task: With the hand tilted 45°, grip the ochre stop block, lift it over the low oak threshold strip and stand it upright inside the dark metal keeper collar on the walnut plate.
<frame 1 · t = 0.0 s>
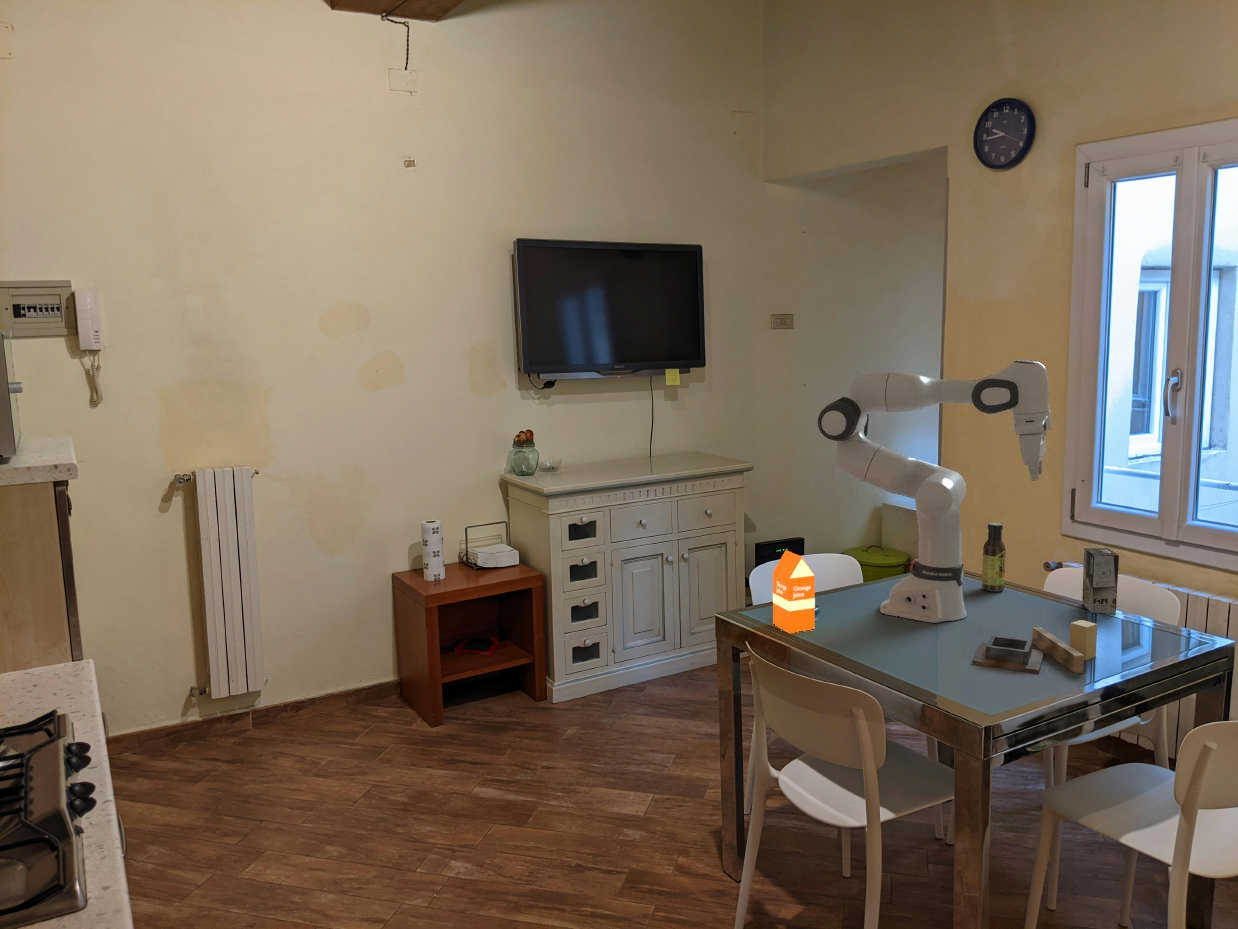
hand: (1036, 477, 232), 39 cm above the table, tool pointing down, fingers open, 8 cm apart
coffee box: (1098, 609, 249), on the table
stop block: (1082, 656, 213), on the table
threshold strip: (1056, 657, 213), on the table
orange juice: (793, 627, 241), on the table
keeper: (1008, 658, 213), on the table
sauce bottle: (993, 590, 269), on the table
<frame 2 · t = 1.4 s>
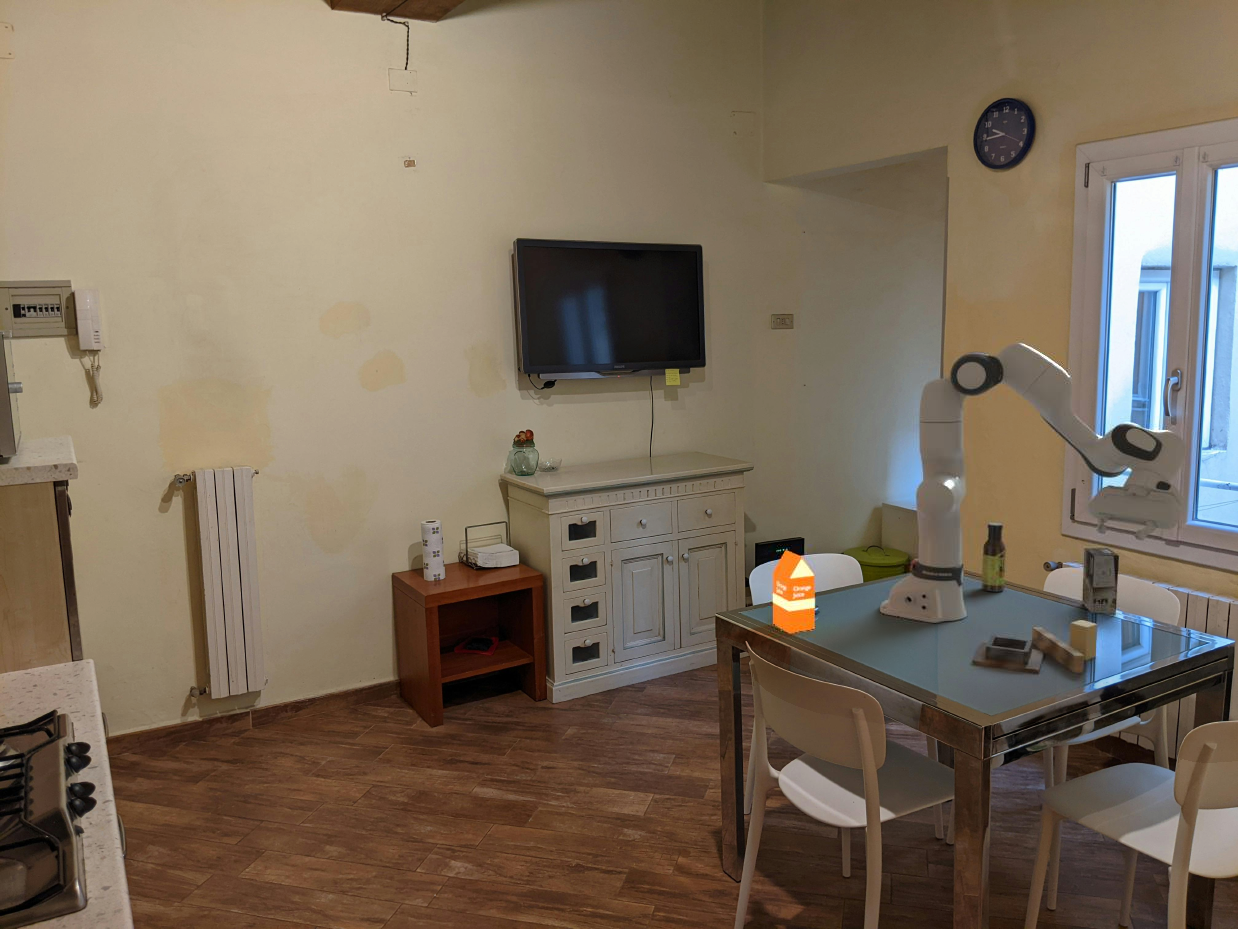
hand: (1118, 535, 216), 27 cm above the table, tool tilted 45°, fingers open, 8 cm apart
nothing on the table moved.
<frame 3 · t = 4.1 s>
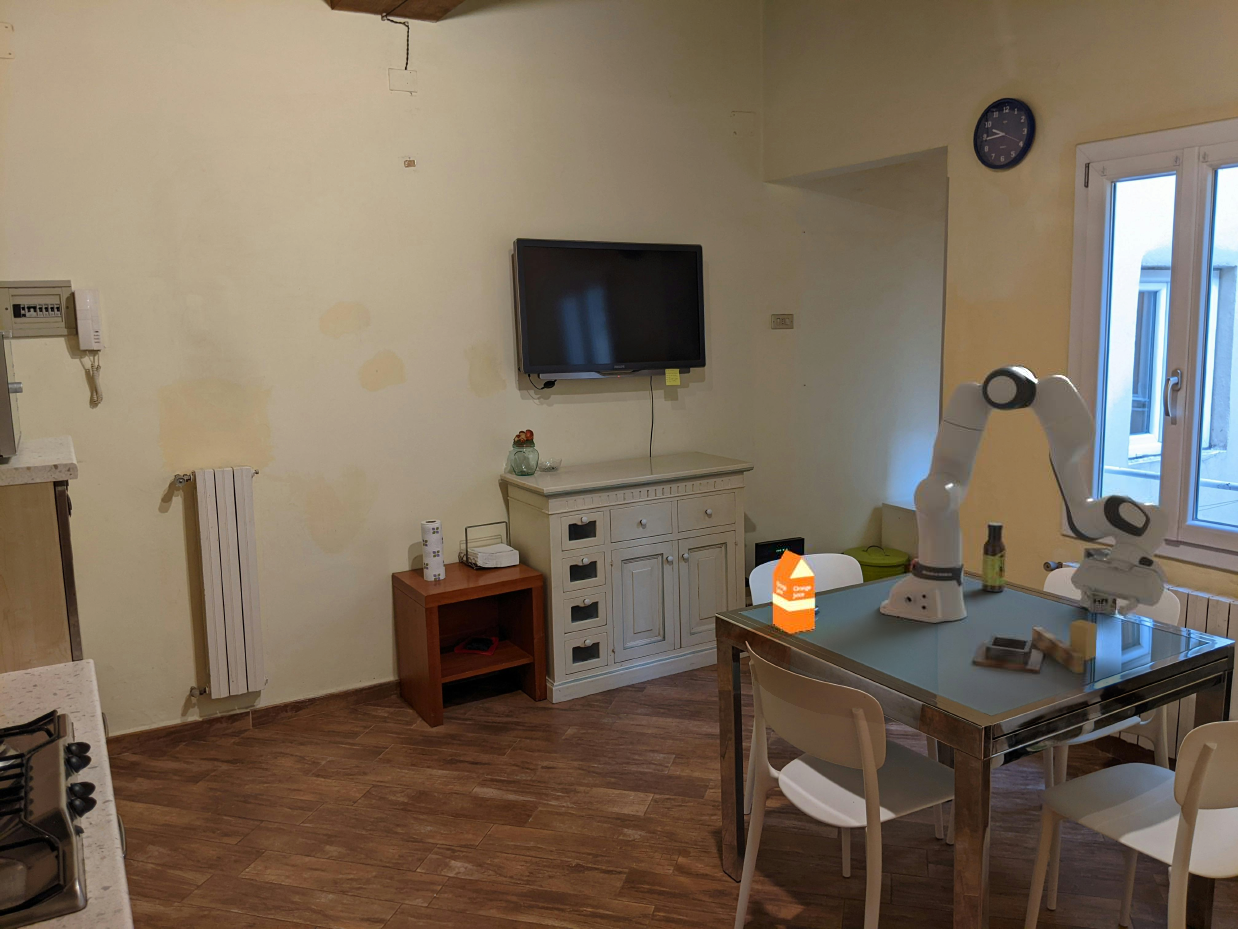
hand: (1101, 609, 215), 10 cm above the table, tool tilted 45°, fingers open, 8 cm apart
nothing on the table moved.
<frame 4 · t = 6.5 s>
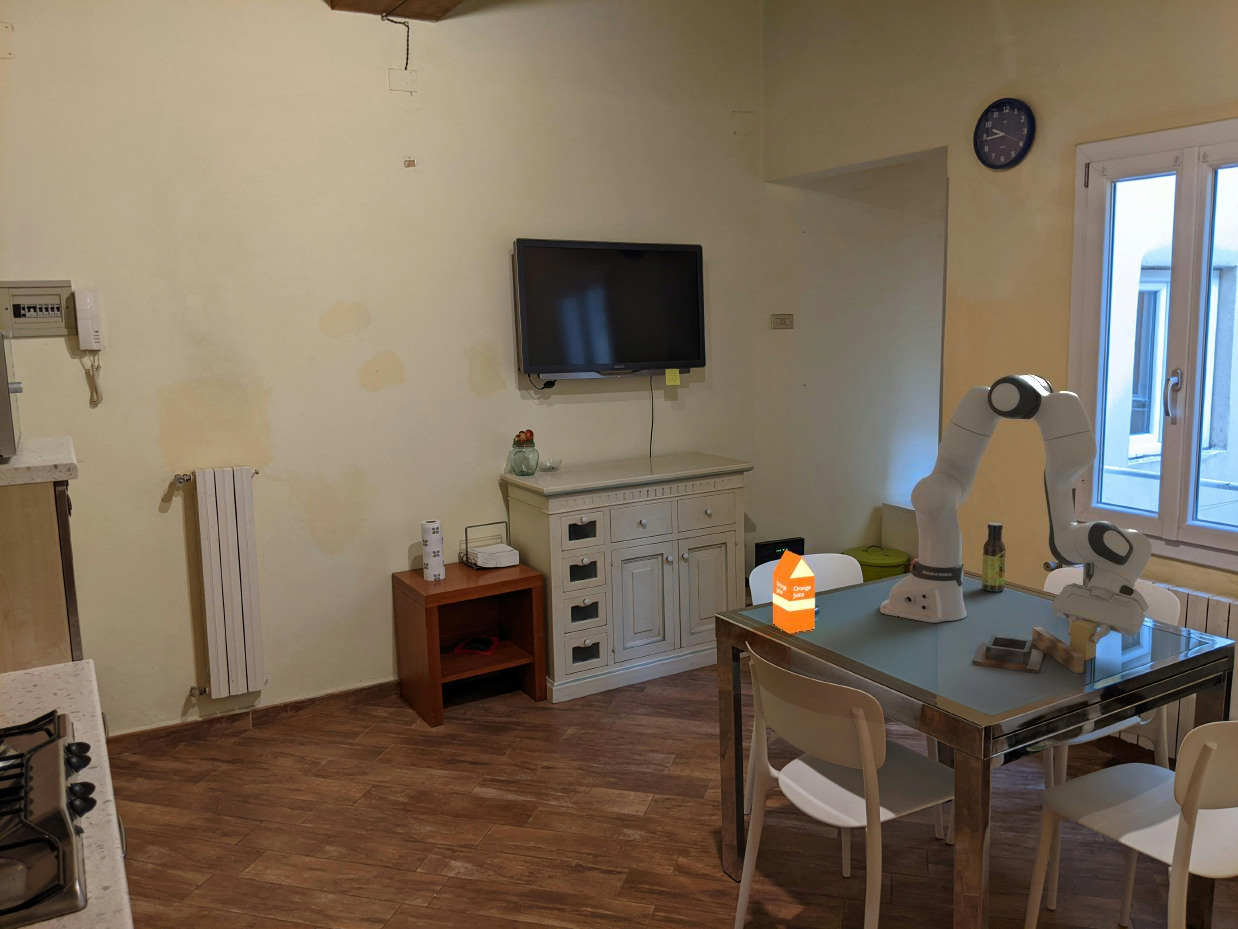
hand: (1081, 638, 213), 4 cm above the table, tool tilted 45°, fingers closed on stop block, 4 cm apart
stop block: (1082, 656, 213), on the table, touching gripper
everything else where it was.
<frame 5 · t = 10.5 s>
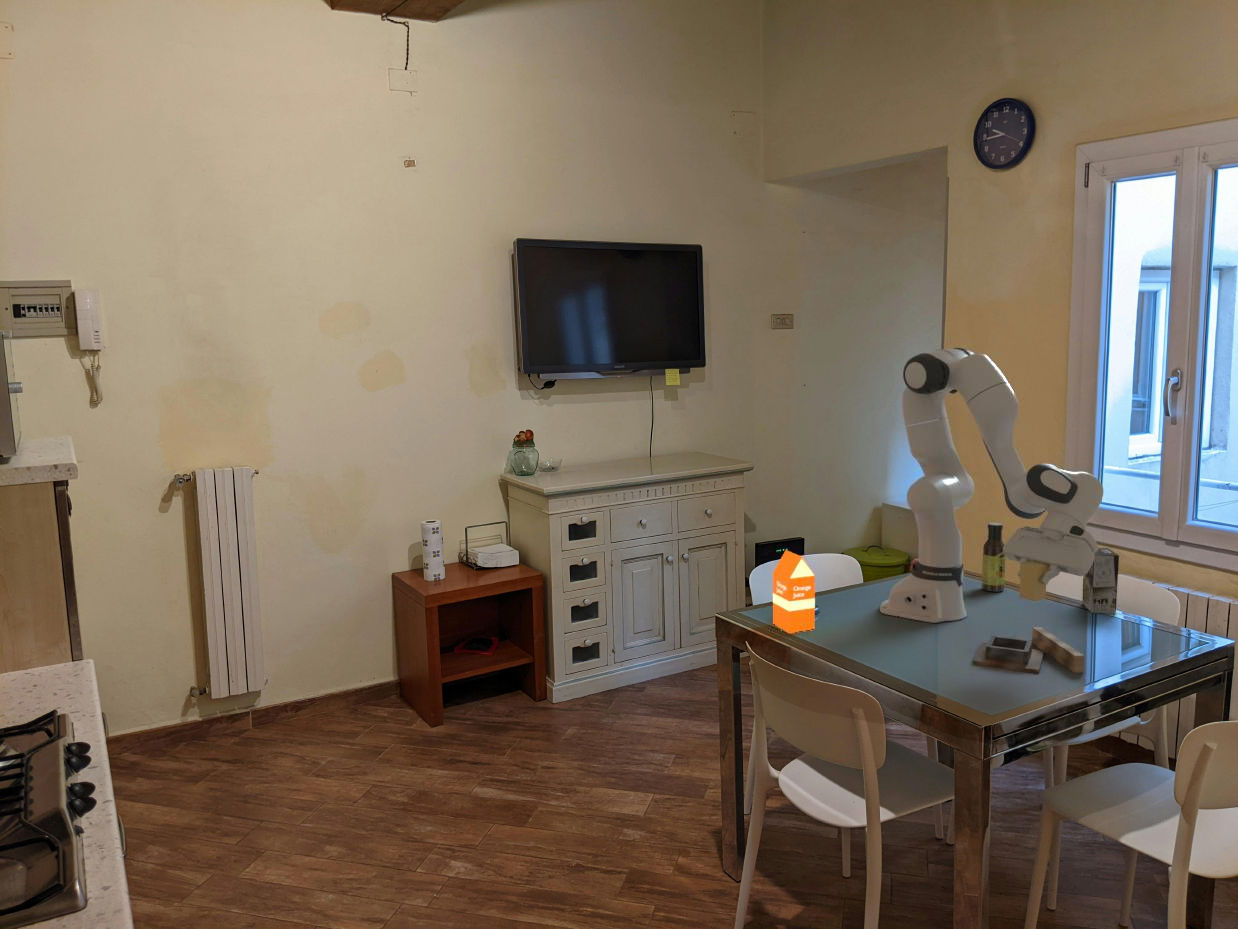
hand: (1031, 579, 211), 19 cm above the table, tool tilted 45°, fingers closed on stop block, 4 cm apart
stop block: (1032, 597, 212), point 14 cm above the table, touching gripper
everything else where it was.
when the fingers open (7 cm above the table, at t = 14.4 s): stop block drops 1 cm, resting on keeper.
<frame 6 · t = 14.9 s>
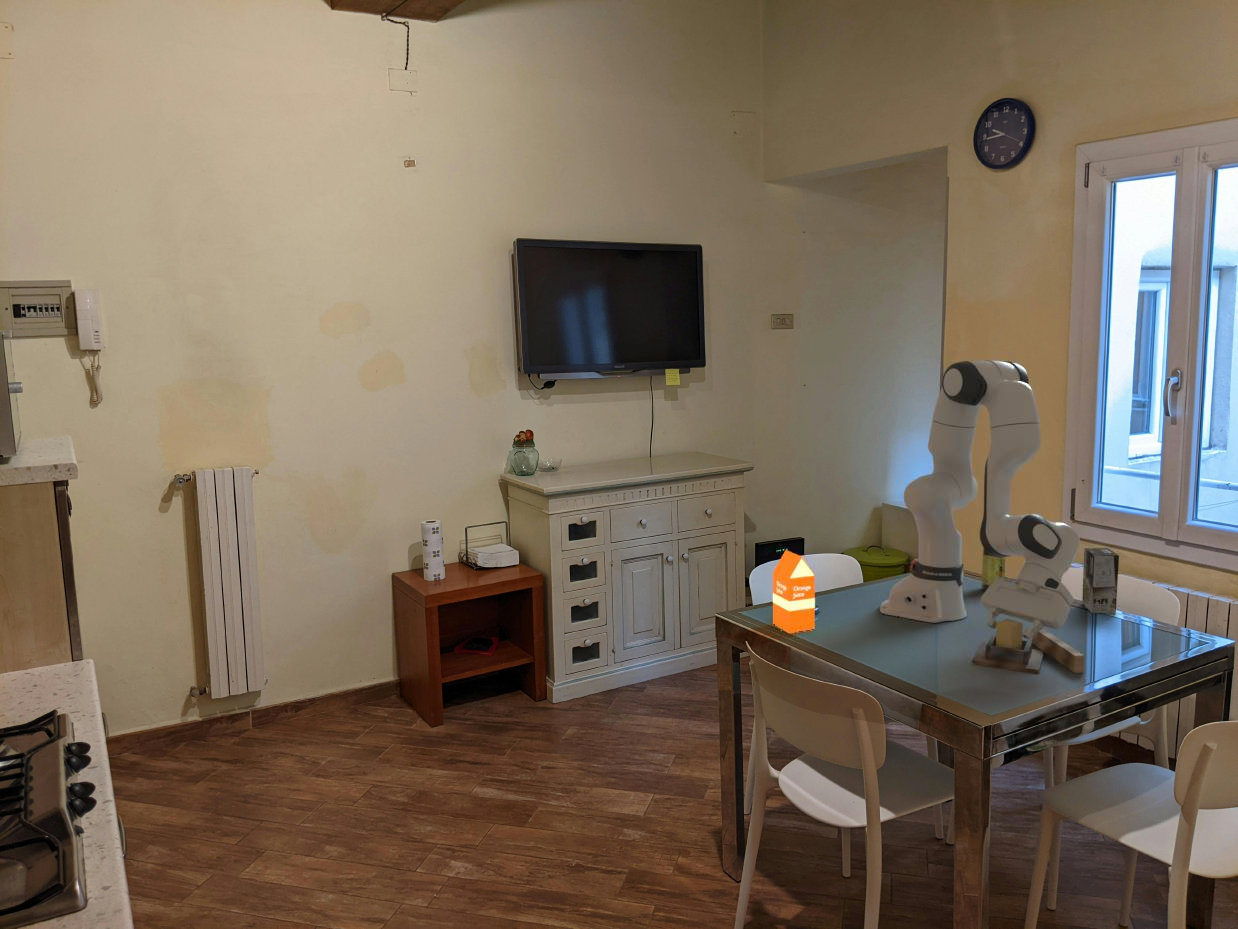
hand: (1007, 632, 212), 7 cm above the table, tool tilted 45°, fingers open, 8 cm apart
stop block: (1008, 655, 213), point 1 cm above the table, touching keeper
everything else where it was.
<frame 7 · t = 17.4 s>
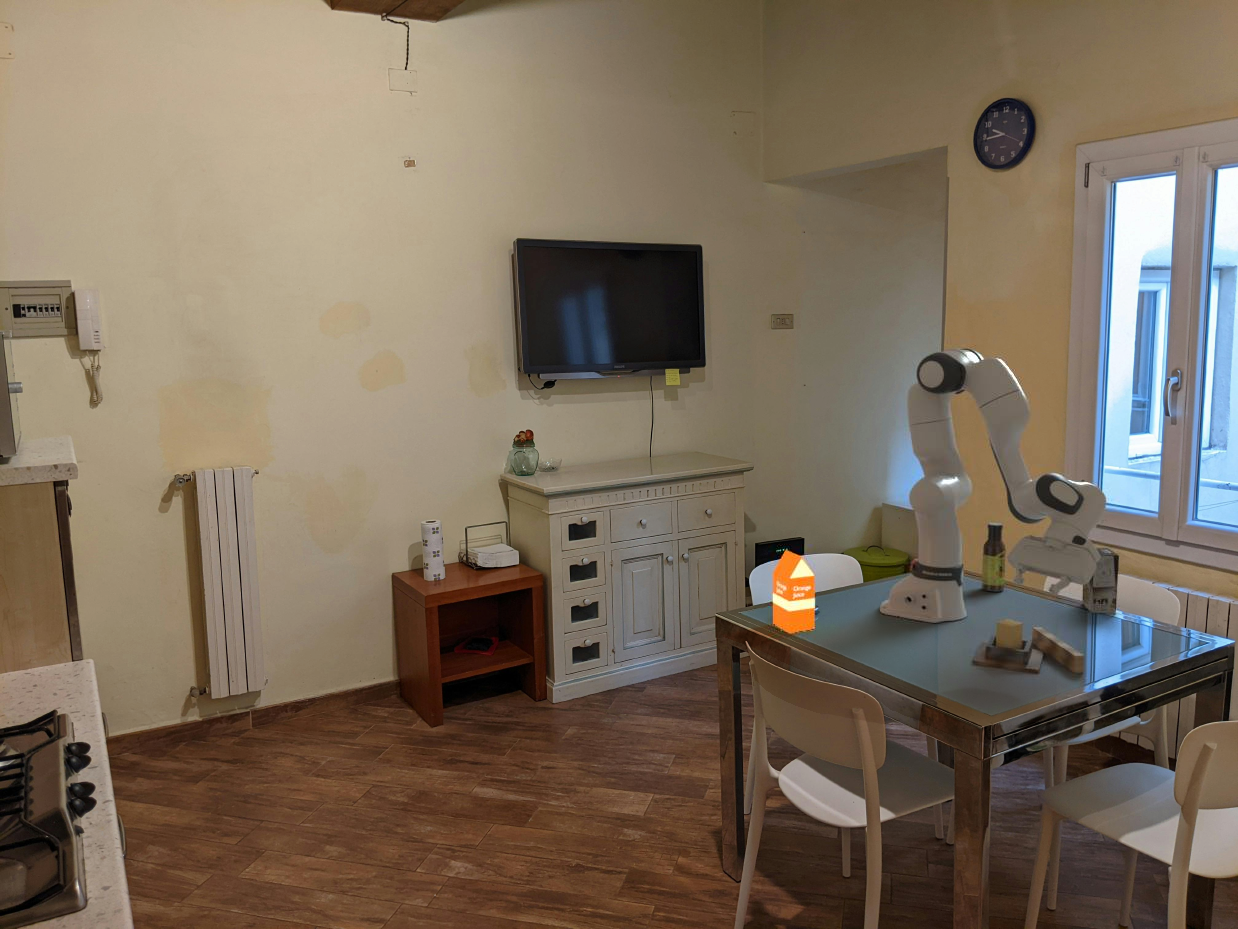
hand: (1034, 587, 216), 15 cm above the table, tool tilted 45°, fingers open, 8 cm apart
nothing on the table moved.
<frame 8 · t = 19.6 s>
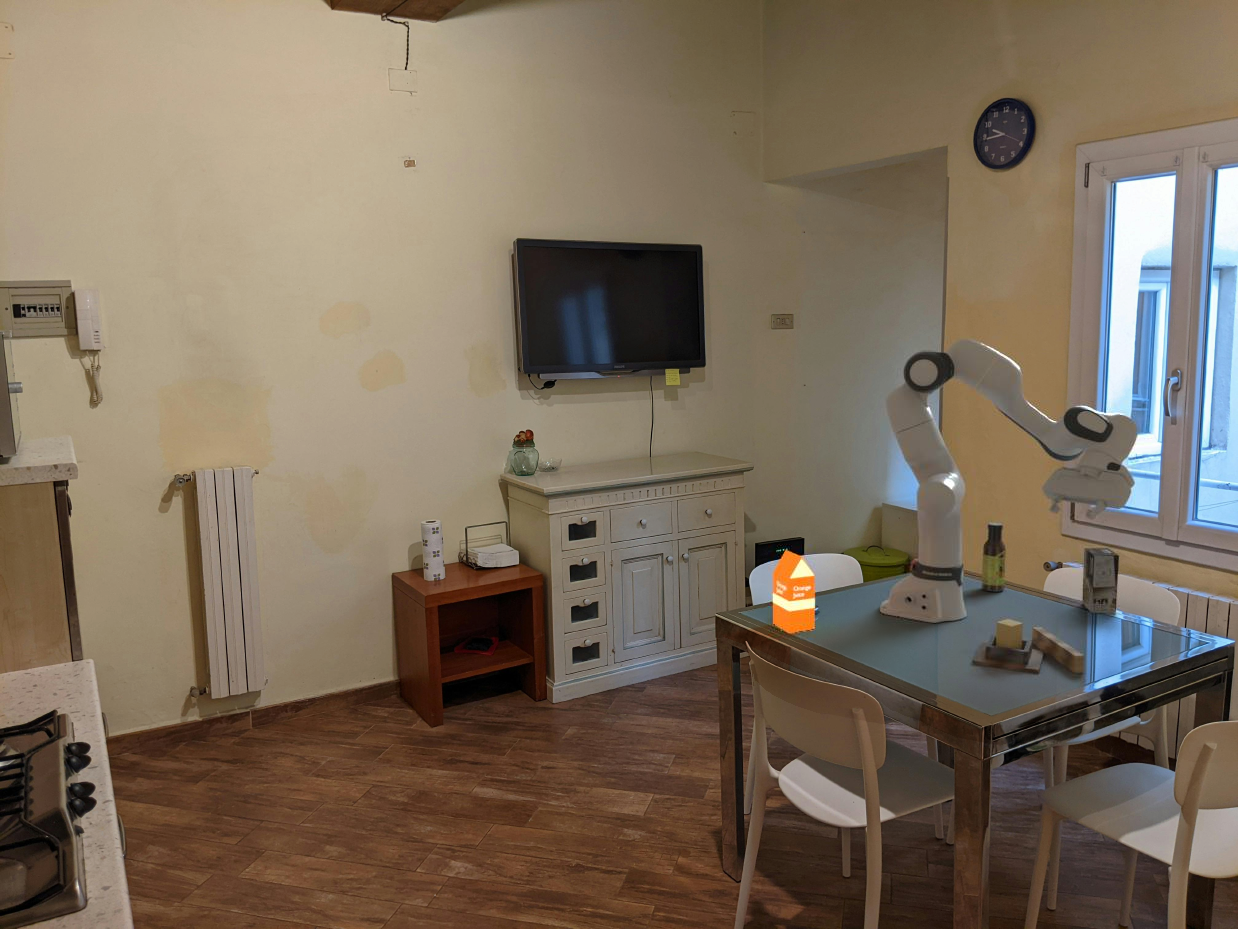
hand: (1070, 514, 221), 31 cm above the table, tool tilted 45°, fingers open, 8 cm apart
nothing on the table moved.
at the end: stop block 0.1 cm off-centre on the keeper, point 0.8 cm above the keeper's base; stop block tilted 0°; the gripper is holding nothing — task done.
